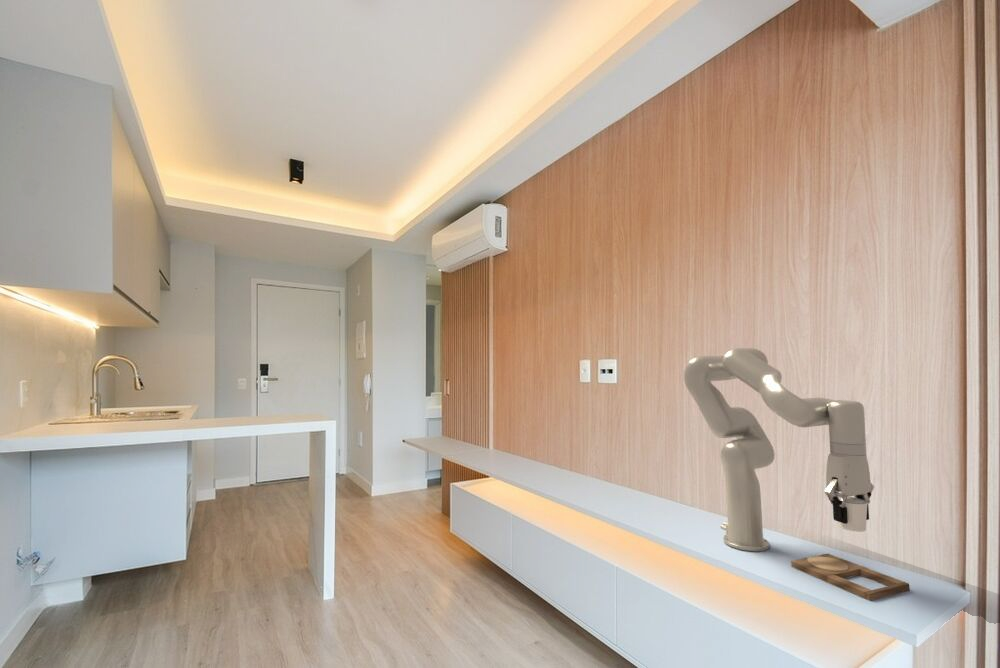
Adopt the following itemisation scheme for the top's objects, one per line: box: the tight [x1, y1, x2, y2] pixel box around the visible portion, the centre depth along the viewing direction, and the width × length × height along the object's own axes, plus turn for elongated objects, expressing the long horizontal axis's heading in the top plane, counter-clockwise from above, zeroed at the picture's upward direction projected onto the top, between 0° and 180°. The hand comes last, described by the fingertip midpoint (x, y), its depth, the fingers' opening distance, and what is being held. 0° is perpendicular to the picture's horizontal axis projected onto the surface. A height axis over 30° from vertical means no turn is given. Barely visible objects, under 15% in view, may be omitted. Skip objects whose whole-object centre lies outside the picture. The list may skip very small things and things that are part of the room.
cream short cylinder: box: [837, 496, 867, 532], centre depth 119 cm, size 7×7×7 cm
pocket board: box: [790, 553, 911, 601], centre depth 121 cm, size 20×14×2 cm
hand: (851, 519), depth 119 cm, fingers closed on cream short cylinder, 6 cm apart
